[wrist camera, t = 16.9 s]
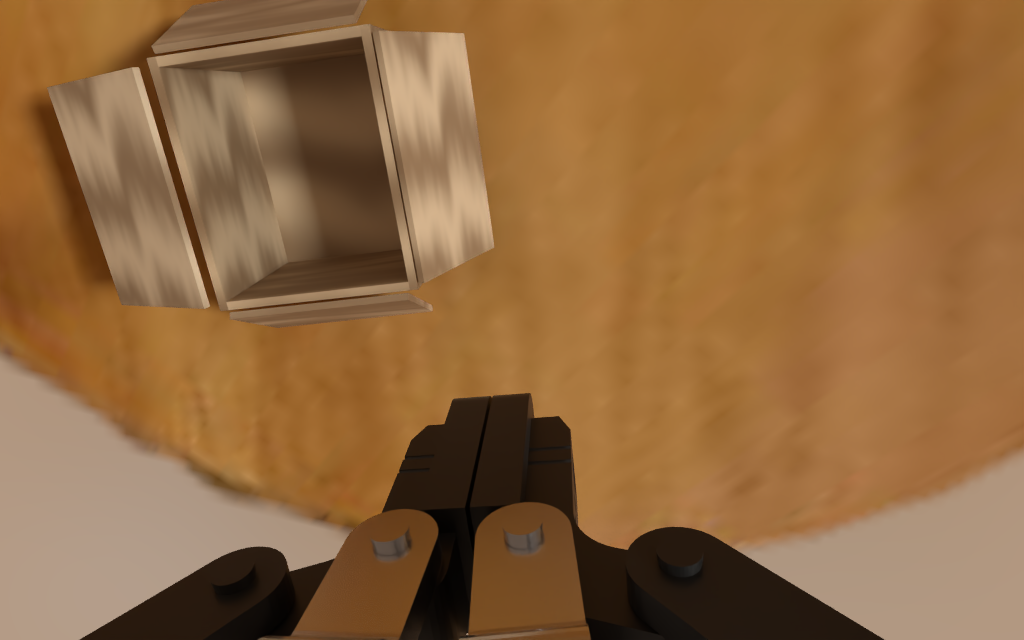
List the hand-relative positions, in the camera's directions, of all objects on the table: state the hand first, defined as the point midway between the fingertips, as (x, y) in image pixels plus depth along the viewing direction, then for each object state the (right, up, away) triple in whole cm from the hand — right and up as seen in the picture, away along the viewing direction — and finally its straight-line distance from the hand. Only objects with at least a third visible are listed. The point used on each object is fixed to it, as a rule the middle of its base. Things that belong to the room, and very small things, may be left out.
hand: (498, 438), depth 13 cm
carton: (-9, +14, +32) cm, 36 cm away
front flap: (-18, +9, +23) cm, 31 cm away
